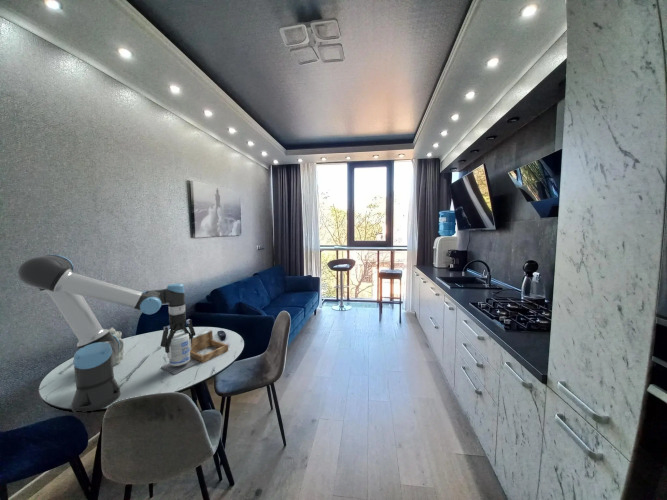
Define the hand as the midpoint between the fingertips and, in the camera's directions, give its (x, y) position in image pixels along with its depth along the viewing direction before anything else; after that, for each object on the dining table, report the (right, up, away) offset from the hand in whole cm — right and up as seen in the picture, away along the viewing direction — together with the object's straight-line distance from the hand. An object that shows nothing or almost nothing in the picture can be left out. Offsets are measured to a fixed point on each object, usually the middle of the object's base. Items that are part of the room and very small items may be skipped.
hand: (179, 353), depth 135 cm
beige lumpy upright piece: (-39, -7, +2) cm, 40 cm away
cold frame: (+8, -5, +14) cm, 17 cm away
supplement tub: (0, -5, 0) cm, 5 cm away
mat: (0, -7, +1) cm, 7 cm away
